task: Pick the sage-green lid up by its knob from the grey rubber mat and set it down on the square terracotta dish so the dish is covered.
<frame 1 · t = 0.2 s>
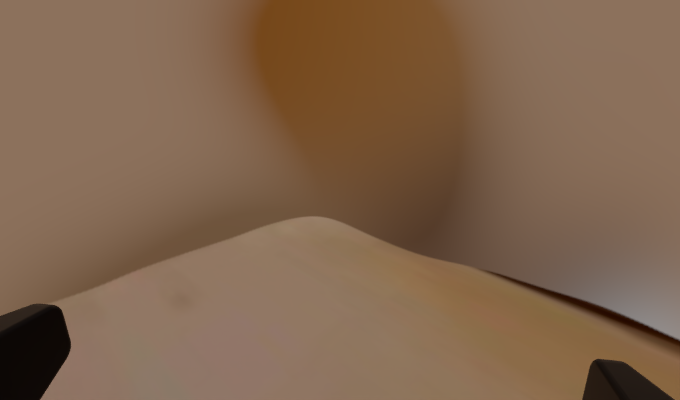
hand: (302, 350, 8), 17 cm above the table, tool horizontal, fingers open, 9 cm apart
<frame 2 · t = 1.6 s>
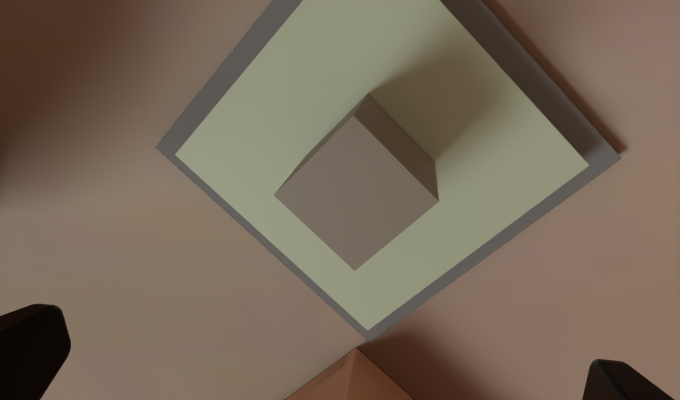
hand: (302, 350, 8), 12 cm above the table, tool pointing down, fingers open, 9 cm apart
lid: (370, 152, 18), resting on mat
mat: (371, 149, 19), on the table
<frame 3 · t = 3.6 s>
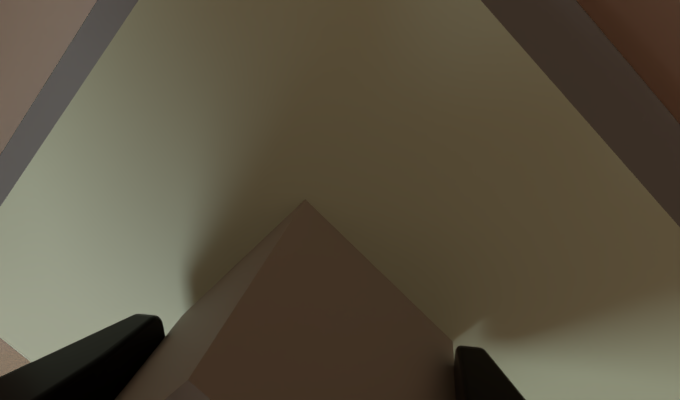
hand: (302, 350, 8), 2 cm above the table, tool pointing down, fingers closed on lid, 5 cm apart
lid: (322, 296, 9), resting on mat, touching gripper
mat: (326, 285, 10), on the table
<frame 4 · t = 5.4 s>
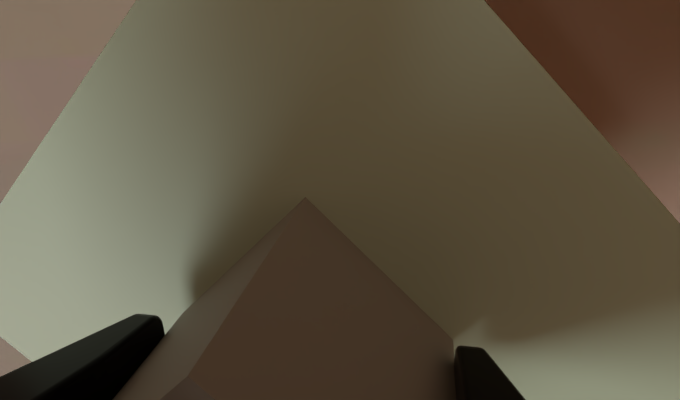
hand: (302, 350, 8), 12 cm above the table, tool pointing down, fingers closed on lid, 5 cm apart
lid: (322, 294, 9), point 11 cm above the table, touching gripper
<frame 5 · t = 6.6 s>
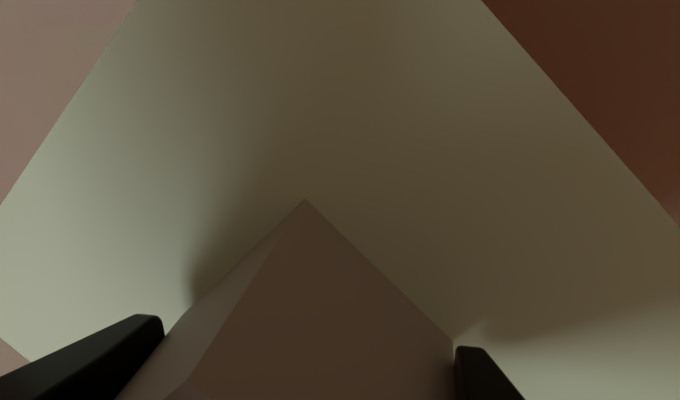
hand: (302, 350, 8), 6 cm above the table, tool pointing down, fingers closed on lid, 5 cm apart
lid: (322, 296, 9), point 5 cm above the table, touching gripper
when the fingers open (6 cm above the table, at t = 7.3 s): lid drops 1 cm, resting on dish.
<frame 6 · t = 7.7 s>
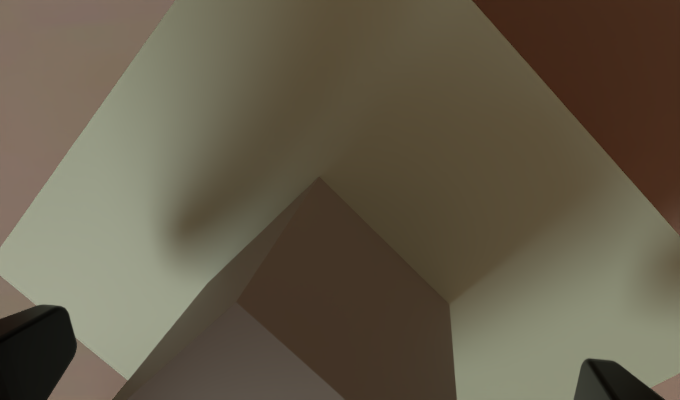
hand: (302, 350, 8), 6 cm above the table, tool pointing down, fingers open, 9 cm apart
lid: (332, 268, 10), point 3 cm above the table, touching dish
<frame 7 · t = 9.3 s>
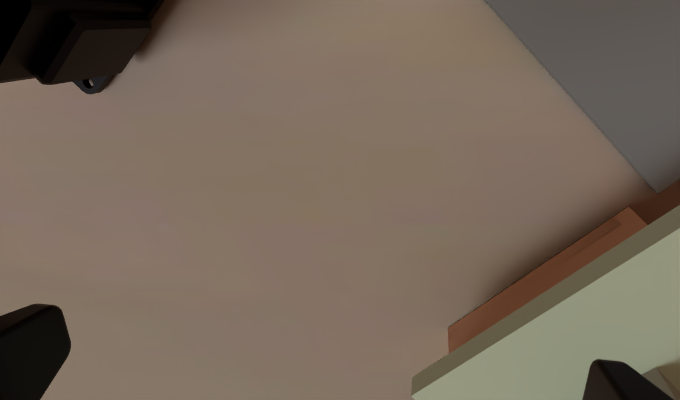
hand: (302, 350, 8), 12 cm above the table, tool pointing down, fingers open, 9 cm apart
dish: (598, 343, 20), on the table
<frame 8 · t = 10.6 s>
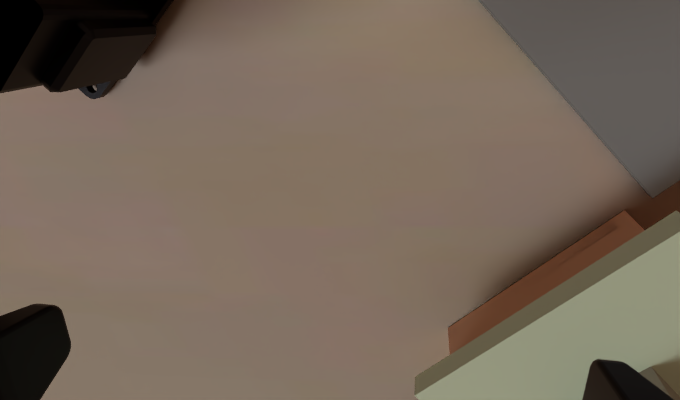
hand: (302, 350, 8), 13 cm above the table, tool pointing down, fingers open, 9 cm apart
dish: (593, 341, 21), on the table
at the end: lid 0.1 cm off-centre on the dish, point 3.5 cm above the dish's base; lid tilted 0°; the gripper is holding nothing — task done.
